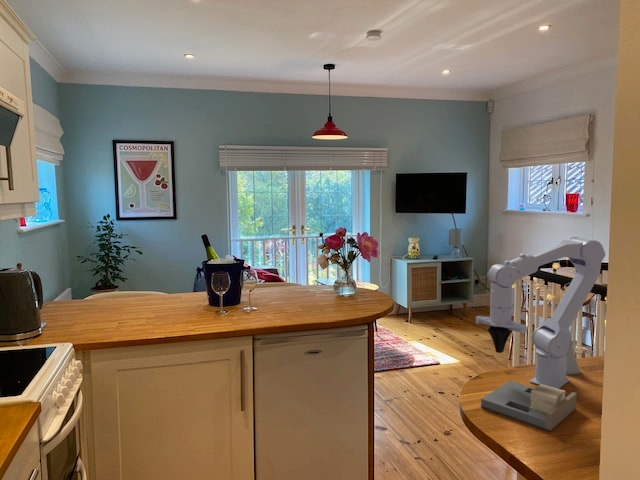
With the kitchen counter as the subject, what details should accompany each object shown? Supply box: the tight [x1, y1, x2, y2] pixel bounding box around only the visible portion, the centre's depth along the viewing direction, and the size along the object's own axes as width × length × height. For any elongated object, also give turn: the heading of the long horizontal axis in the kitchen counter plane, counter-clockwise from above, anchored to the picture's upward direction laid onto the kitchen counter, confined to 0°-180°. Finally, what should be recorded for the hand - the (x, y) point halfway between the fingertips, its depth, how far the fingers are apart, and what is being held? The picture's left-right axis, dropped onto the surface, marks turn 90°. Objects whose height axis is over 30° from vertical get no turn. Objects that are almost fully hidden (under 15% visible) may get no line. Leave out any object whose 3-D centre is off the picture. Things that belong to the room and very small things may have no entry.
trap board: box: [480, 380, 578, 433], centre depth 126 cm, size 16×18×4 cm
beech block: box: [531, 384, 566, 412], centre depth 122 cm, size 6×6×4 cm
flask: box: [565, 338, 581, 375], centre depth 149 cm, size 7×7×10 cm
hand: (499, 351), depth 139 cm, fingers closed
